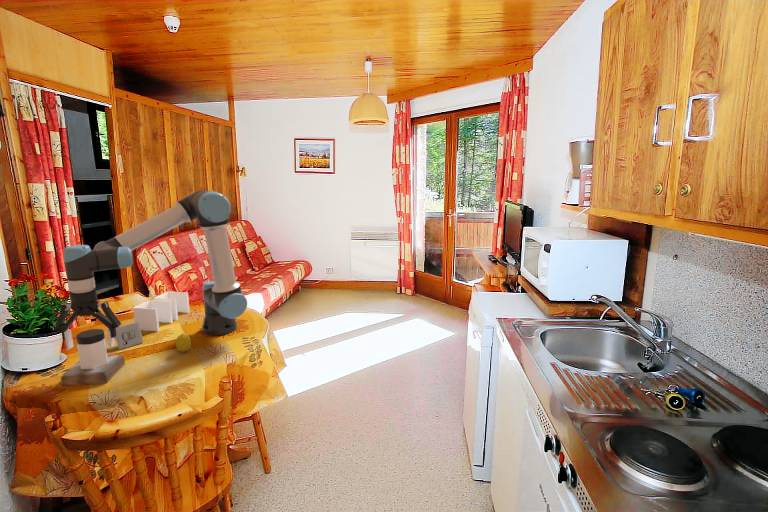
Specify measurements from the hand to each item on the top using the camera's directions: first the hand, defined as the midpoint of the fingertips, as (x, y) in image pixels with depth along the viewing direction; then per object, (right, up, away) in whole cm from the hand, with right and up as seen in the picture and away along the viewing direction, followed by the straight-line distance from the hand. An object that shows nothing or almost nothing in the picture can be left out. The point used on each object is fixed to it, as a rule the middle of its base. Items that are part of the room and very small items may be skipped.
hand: (91, 346), depth 146 cm
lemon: (+23, -7, +21) cm, 32 cm away
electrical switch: (-3, -5, +27) cm, 27 cm away
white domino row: (-3, +1, +54) cm, 54 cm away
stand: (0, -10, +2) cm, 11 cm away
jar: (0, -7, +1) cm, 7 cm away
